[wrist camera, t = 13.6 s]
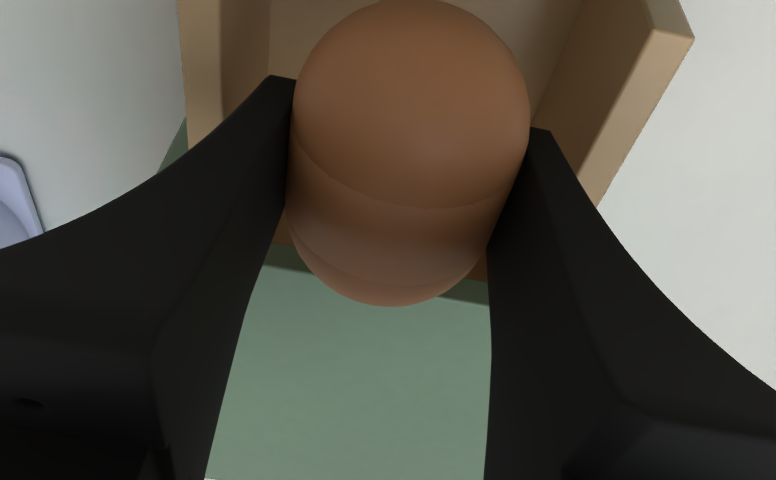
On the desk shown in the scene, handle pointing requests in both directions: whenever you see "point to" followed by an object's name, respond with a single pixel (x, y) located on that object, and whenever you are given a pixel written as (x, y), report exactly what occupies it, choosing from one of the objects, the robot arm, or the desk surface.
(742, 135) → the desk surface
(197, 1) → the drawer
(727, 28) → the desk surface
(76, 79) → the desk surface
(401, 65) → the egg
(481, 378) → the cabinet
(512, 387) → the robot arm
